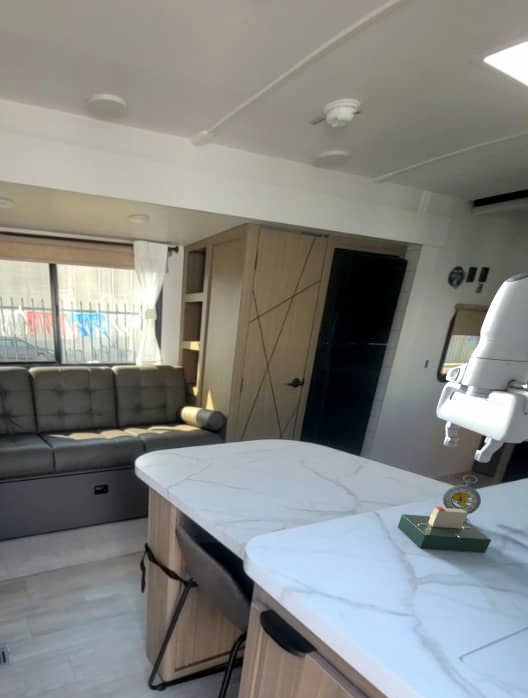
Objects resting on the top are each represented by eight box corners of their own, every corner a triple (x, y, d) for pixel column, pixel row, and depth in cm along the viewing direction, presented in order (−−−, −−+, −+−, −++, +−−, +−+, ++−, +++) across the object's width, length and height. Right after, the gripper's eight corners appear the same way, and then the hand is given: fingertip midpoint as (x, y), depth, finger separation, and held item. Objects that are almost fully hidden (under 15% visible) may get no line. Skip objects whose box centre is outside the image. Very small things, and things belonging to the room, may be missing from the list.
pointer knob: (456, 525, 81) (463, 508, 79) (461, 528, 79) (468, 511, 78) (427, 523, 81) (434, 506, 79) (432, 526, 80) (439, 509, 78)
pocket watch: (439, 525, 87) (457, 482, 83) (425, 510, 95) (440, 469, 90) (482, 531, 86) (502, 487, 81) (464, 515, 93) (482, 474, 89)
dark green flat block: (455, 530, 86) (460, 516, 84) (486, 554, 77) (493, 539, 75) (396, 526, 86) (401, 512, 85) (420, 549, 78) (426, 534, 76)
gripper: (564, 386, 61) (523, 473, 67) (476, 371, 79) (450, 440, 85) (520, 384, 61) (483, 470, 67) (443, 369, 80) (419, 438, 86)
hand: (464, 453), depth 76 cm, fingers open, 8 cm apart
